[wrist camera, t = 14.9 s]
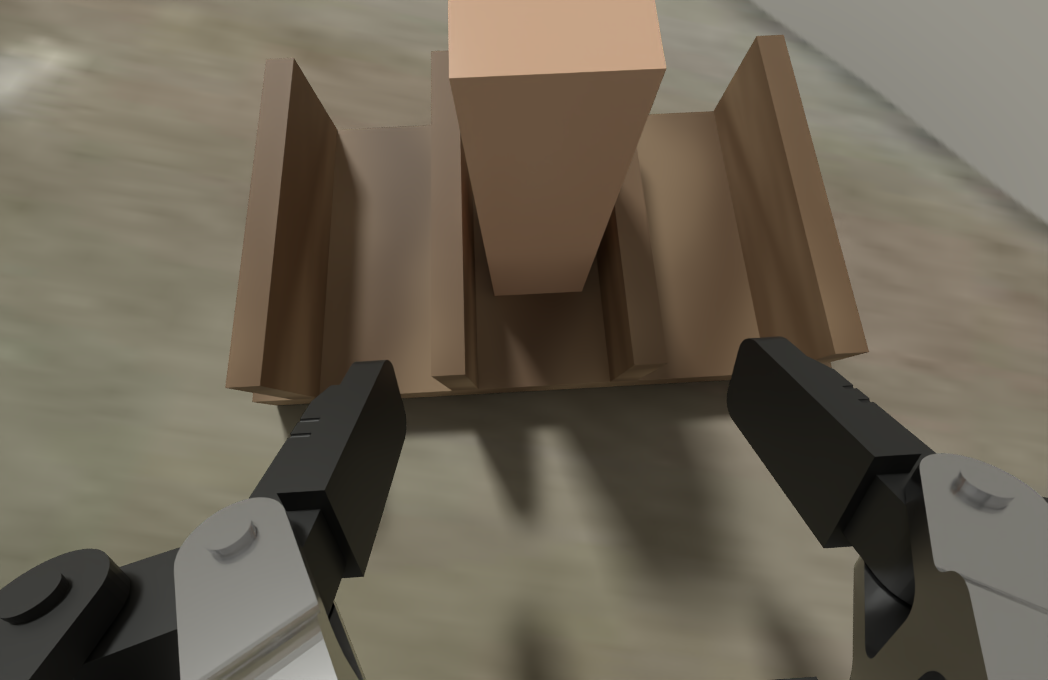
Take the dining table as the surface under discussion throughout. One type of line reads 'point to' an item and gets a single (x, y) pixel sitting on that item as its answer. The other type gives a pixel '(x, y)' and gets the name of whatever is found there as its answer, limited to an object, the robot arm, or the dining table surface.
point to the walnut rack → (549, 318)
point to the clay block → (550, 126)
